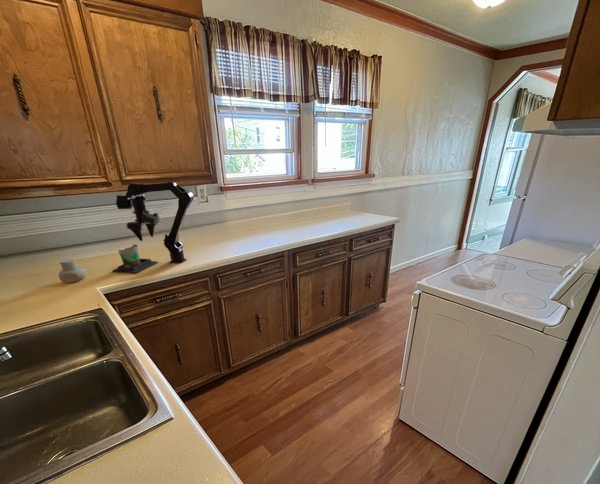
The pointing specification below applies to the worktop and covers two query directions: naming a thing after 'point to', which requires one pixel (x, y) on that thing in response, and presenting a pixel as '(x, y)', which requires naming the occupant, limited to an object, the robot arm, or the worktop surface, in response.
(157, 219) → the robot arm
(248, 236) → the worktop surface
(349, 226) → the worktop surface
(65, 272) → the air freshener
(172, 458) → the worktop surface
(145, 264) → the pad
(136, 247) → the food container
